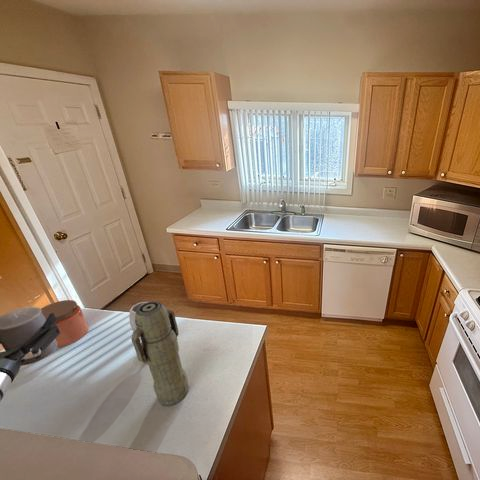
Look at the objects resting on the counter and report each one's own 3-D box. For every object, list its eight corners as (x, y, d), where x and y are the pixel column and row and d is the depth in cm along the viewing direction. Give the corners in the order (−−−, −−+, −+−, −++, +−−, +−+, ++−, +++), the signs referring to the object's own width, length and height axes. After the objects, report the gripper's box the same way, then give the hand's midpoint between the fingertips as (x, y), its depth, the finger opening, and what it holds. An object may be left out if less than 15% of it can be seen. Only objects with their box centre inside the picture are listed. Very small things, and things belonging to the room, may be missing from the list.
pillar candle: (3, 369, 72) (-24, 329, 66) (26, 343, 80) (4, 305, 74) (47, 361, 75) (25, 321, 69) (65, 337, 83) (47, 300, 77)
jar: (36, 350, 95) (20, 323, 90) (59, 326, 107) (47, 301, 102) (77, 345, 98) (64, 319, 93) (95, 322, 110) (85, 297, 105)
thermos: (147, 407, 78) (114, 318, 64) (175, 374, 89) (153, 291, 74) (171, 415, 76) (143, 325, 62) (197, 380, 87) (178, 297, 73)
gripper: (-76, 414, 56) (-17, 343, 74) (58, 374, 66) (82, 320, 84) (-98, 391, 53) (-30, 323, 71) (47, 353, 63) (74, 302, 81)
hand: (30, 321), depth 77 cm, fingers closed on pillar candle, 9 cm apart
